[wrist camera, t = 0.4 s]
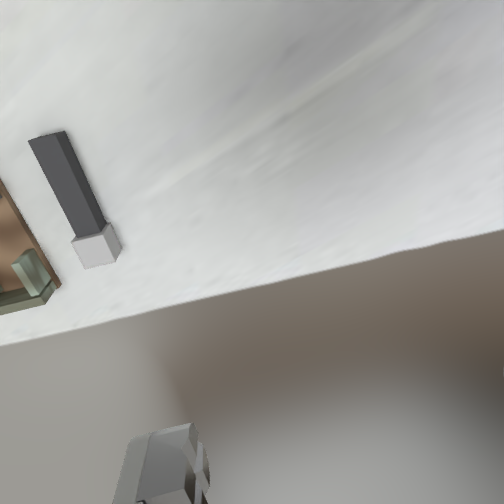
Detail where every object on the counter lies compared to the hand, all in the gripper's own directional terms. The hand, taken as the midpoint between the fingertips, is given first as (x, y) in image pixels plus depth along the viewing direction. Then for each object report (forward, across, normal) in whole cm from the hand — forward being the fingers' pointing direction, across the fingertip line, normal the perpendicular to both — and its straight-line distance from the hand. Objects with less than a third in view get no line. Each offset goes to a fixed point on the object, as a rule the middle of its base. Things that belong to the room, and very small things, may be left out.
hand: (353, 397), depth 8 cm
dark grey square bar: (+37, +20, -3) cm, 43 cm away
